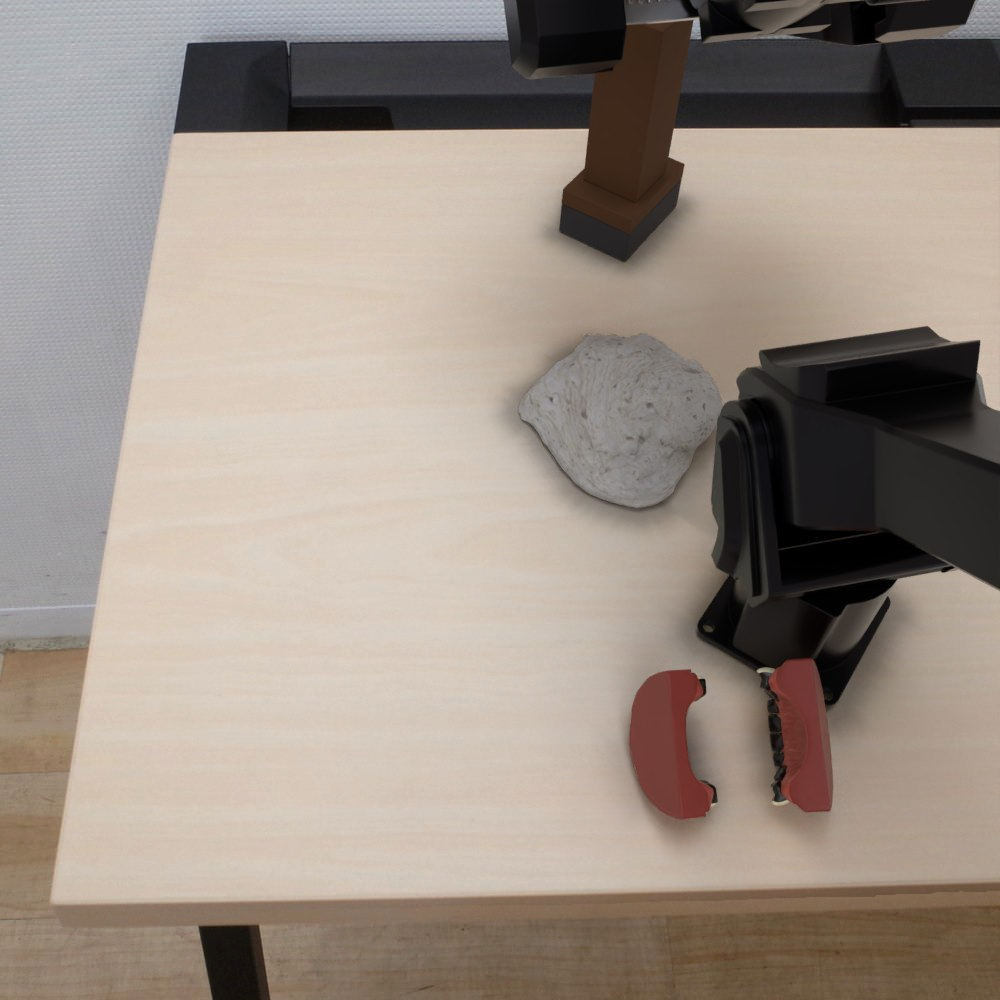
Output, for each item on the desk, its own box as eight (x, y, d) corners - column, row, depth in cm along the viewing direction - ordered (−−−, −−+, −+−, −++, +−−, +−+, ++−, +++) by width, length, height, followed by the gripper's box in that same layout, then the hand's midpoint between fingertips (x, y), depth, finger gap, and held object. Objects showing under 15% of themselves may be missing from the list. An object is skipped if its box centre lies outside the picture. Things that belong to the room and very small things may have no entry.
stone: (528, 302, 55) (728, 298, 53) (544, 368, 59) (732, 368, 56) (487, 447, 49) (710, 452, 47) (507, 511, 53) (716, 519, 50)
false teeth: (632, 811, 44) (830, 795, 44) (646, 826, 40) (865, 810, 40) (620, 670, 45) (814, 655, 45) (632, 671, 40) (847, 655, 41)
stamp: (624, 262, 61) (658, 48, 50) (558, 231, 62) (578, 16, 52) (676, 206, 64) (719, -8, 53) (612, 177, 65) (641, -36, 55)
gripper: (1077, -395, 35) (844, -175, 50) (516, -373, 32) (448, -146, 48) (1091, -30, 37) (863, 76, 52) (562, 21, 34) (483, 118, 50)
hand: (671, 27), depth 50 cm, fingers open, 9 cm apart
